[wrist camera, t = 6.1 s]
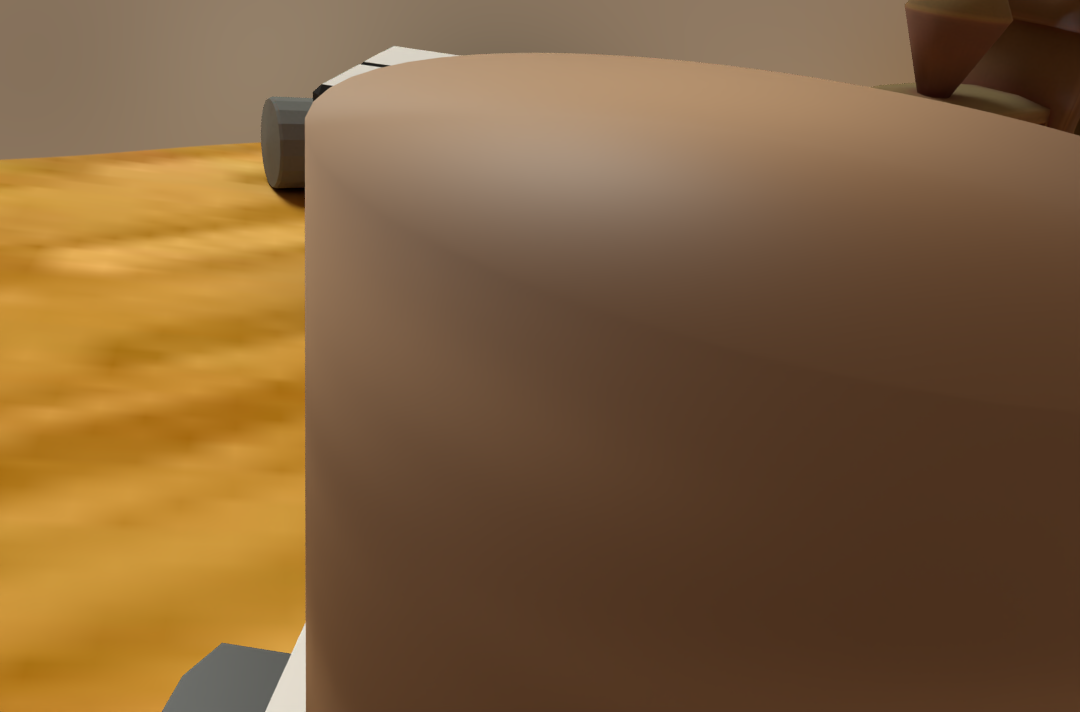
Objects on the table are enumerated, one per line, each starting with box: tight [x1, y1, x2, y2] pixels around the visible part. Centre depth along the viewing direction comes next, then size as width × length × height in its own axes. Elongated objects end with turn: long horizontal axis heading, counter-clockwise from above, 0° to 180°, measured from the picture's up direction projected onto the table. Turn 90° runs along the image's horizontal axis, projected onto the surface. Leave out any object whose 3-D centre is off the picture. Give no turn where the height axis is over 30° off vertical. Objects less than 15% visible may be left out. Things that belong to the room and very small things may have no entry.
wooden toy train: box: [871, 0, 1080, 136], centre depth 48 cm, size 20×11×17 cm, turn 130°
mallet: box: [261, 97, 313, 188], centre depth 58 cm, size 5×5×30 cm
